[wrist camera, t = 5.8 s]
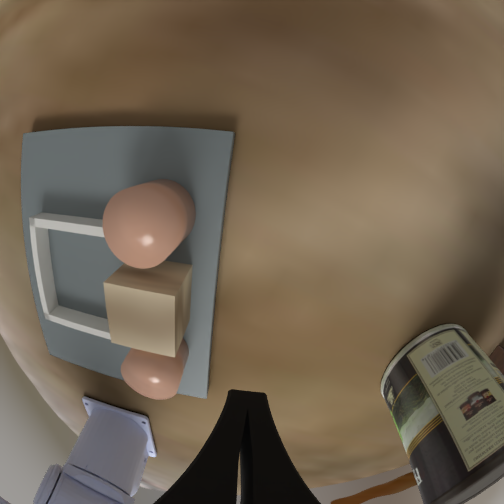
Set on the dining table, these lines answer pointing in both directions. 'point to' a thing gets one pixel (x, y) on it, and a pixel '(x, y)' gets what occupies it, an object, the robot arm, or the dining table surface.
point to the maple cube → (149, 306)
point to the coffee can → (448, 414)
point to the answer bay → (45, 272)
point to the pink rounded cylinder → (154, 372)
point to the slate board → (96, 248)
